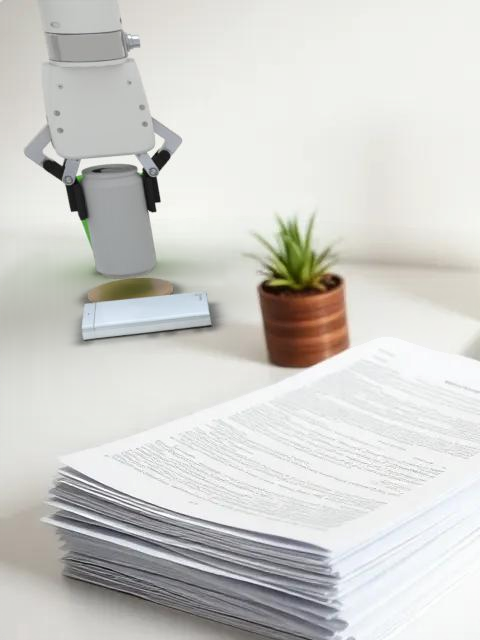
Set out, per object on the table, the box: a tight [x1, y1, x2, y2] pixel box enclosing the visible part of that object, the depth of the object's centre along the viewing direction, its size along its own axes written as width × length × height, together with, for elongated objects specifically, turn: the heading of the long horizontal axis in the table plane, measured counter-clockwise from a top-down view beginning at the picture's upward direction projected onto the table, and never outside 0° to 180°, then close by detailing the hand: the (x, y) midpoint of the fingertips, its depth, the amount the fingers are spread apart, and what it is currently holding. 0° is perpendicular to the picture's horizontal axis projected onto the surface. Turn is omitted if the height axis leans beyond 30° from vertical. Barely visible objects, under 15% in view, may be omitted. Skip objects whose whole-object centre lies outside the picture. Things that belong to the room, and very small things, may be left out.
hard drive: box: [81, 290, 212, 341], centre depth 122 cm, size 2×8×12 cm
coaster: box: [87, 277, 174, 303], centre depth 130 cm, size 9×9×1 cm
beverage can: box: [80, 163, 158, 280], centre depth 127 cm, size 6×6×12 cm
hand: (117, 212), depth 126 cm, fingers closed on beverage can, 6 cm apart
